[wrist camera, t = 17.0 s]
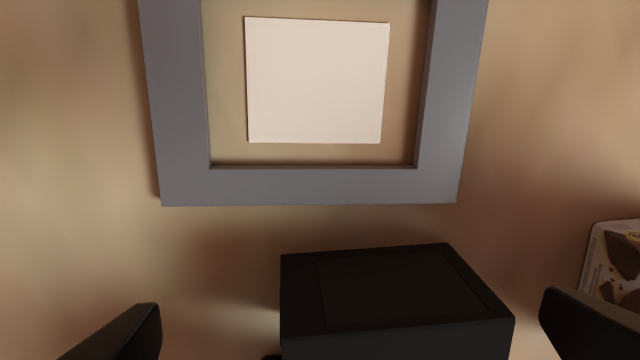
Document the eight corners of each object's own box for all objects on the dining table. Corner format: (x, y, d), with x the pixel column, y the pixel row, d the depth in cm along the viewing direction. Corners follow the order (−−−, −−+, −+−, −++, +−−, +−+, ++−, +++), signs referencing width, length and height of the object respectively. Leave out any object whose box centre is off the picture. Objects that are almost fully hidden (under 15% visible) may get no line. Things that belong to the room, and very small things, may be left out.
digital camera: (283, 328, 23) (284, 438, 16) (278, 254, 21) (277, 342, 15) (439, 314, 24) (500, 411, 17) (447, 241, 22) (518, 319, 16)
